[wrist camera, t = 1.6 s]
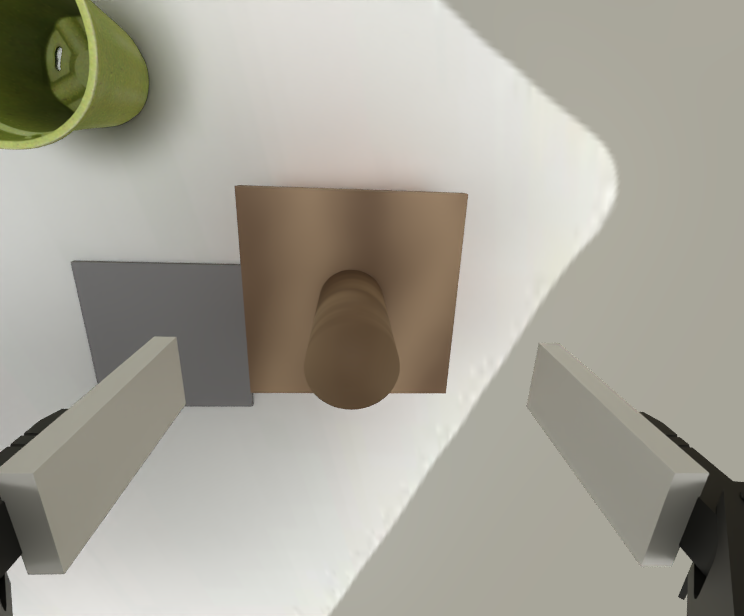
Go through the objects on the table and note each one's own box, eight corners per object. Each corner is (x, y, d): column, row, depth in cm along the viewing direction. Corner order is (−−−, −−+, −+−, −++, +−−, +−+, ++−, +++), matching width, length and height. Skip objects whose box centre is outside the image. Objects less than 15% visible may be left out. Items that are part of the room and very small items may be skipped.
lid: (254, 384, 25) (205, 495, 17) (239, 185, 21) (165, 198, 13) (442, 385, 26) (487, 492, 17) (462, 193, 22) (535, 209, 13)
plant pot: (167, 172, 27) (89, 175, 19) (18, 129, 26) (-136, 111, 18) (187, 17, 24) (104, -58, 16) (19, -41, 23) (-164, -157, 15)
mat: (105, 403, 33) (102, 406, 32) (74, 260, 29) (70, 262, 28) (253, 403, 33) (252, 406, 33) (243, 264, 29) (241, 265, 29)
